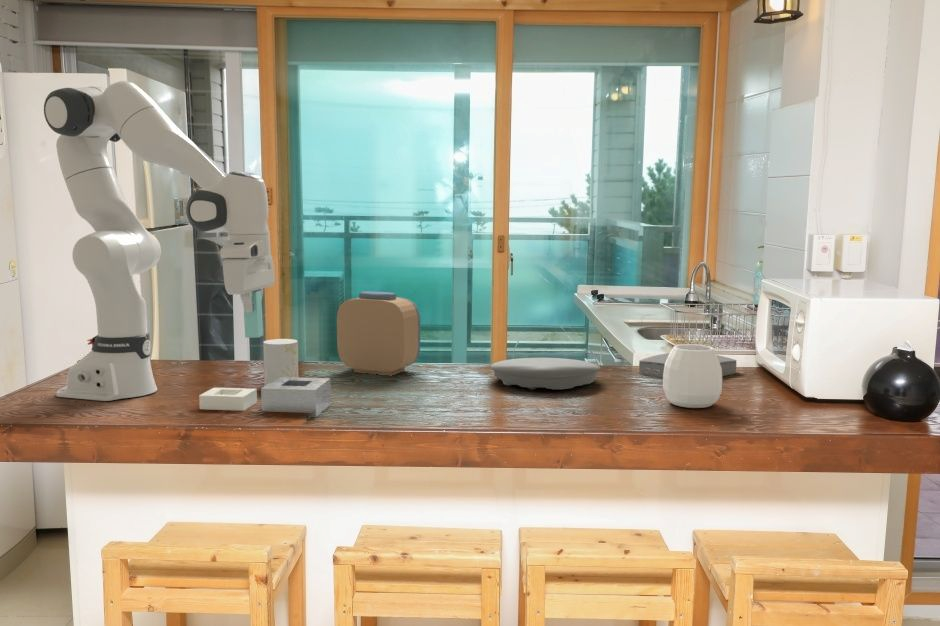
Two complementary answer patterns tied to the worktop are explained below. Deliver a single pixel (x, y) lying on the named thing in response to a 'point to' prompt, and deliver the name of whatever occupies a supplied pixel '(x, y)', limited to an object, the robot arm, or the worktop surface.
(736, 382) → the worktop surface
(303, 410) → the port
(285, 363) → the cup
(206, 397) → the white square-hole block
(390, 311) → the alarm clock
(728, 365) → the electronic device
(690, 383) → the cup
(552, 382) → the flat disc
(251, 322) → the plug
